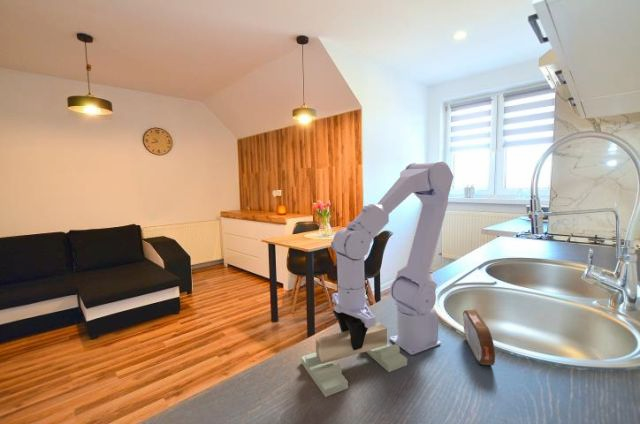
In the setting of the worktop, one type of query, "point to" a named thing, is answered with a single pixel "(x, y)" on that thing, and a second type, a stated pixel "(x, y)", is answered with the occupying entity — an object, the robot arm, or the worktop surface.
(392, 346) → the stand
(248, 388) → the worktop surface
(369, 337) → the bar
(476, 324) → the brown rounded slab
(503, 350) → the worktop surface
